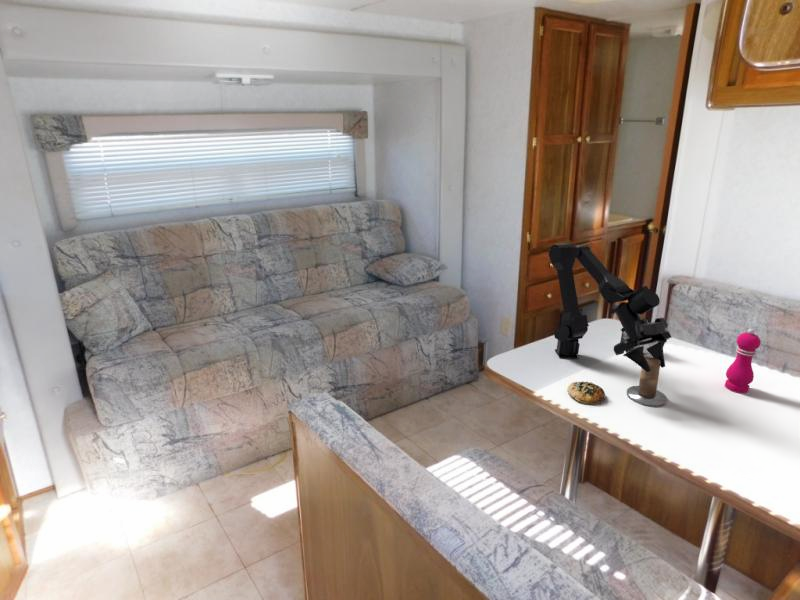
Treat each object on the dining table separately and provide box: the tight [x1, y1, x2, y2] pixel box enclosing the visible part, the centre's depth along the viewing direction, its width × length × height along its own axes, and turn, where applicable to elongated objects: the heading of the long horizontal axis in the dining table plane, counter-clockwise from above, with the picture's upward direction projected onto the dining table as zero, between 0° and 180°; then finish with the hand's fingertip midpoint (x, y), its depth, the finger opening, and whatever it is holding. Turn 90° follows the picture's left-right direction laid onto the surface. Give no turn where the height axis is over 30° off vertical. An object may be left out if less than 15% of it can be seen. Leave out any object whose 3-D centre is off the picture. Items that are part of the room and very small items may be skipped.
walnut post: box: [638, 356, 661, 398], centre depth 156 cm, size 5×5×11 cm
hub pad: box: [626, 385, 668, 408], centre depth 158 cm, size 11×11×1 cm
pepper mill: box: [724, 328, 761, 394], centre depth 161 cm, size 7×7×20 cm
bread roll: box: [566, 381, 606, 405], centre depth 158 cm, size 11×11×5 cm
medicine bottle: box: [619, 316, 649, 354], centre depth 188 cm, size 7×7×12 cm
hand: (656, 369), depth 154 cm, fingers open, 6 cm apart
